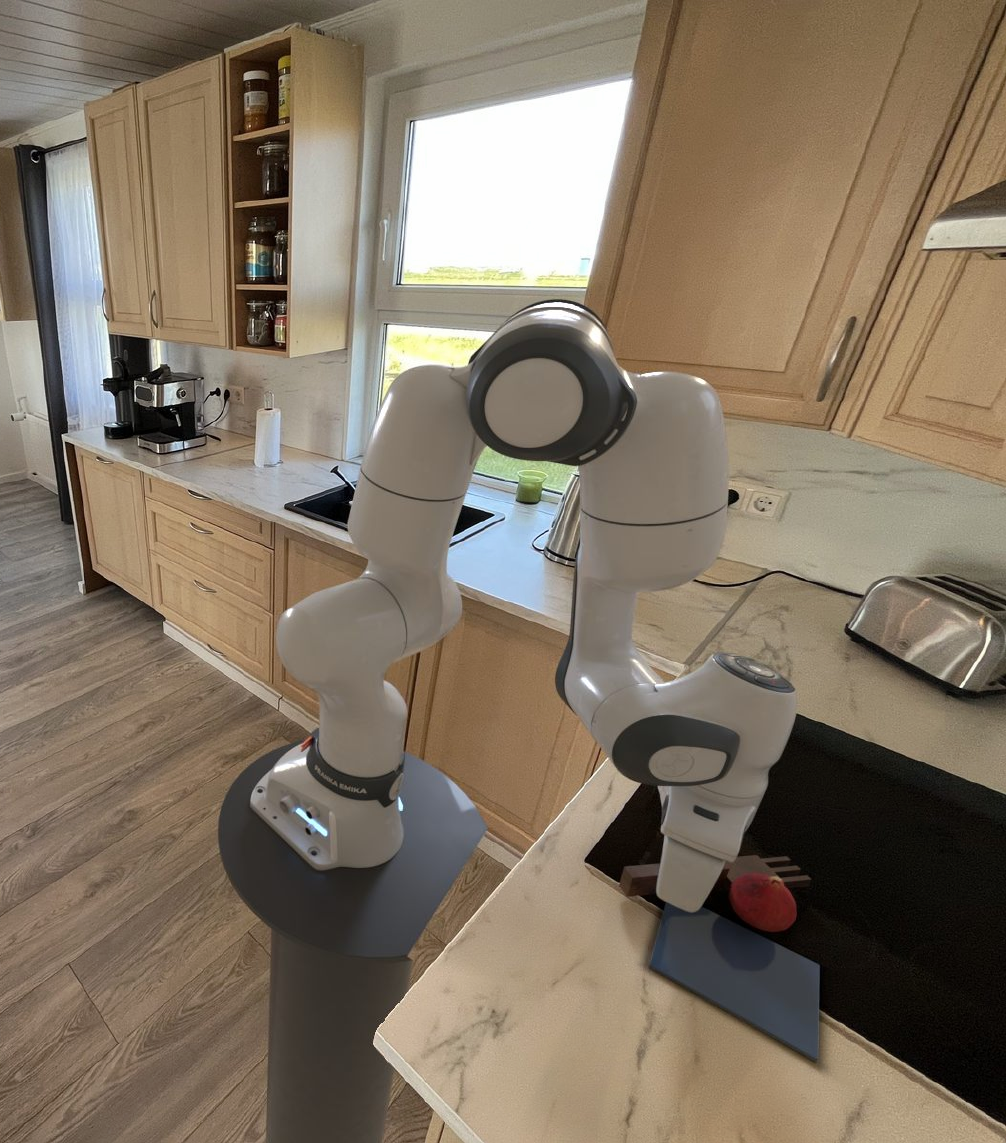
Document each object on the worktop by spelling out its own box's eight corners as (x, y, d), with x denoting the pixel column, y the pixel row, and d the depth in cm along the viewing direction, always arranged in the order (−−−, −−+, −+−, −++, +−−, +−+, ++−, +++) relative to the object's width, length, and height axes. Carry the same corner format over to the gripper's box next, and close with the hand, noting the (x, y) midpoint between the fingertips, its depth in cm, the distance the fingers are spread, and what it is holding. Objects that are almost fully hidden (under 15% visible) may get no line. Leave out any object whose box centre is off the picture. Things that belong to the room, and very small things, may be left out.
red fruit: (732, 940, 70) (757, 897, 66) (711, 893, 75) (734, 850, 71) (792, 951, 69) (821, 908, 65) (767, 903, 74) (793, 860, 70)
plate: (648, 967, 67) (649, 964, 67) (668, 893, 75) (669, 890, 75) (816, 1062, 59) (818, 1059, 59) (818, 967, 67) (819, 964, 67)
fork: (632, 904, 73) (638, 885, 72) (613, 878, 76) (618, 859, 75) (809, 887, 74) (818, 867, 73) (783, 862, 77) (791, 843, 76)
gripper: (684, 729, 78) (655, 811, 83) (661, 832, 63) (628, 923, 69) (747, 750, 74) (712, 834, 80) (738, 864, 59) (696, 957, 65)
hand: (673, 876), depth 74 cm, fingers closed on fork, 3 cm apart
